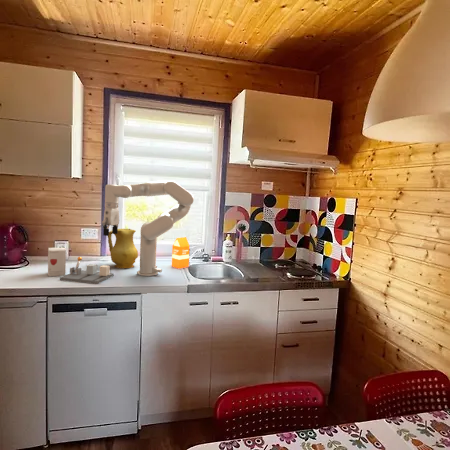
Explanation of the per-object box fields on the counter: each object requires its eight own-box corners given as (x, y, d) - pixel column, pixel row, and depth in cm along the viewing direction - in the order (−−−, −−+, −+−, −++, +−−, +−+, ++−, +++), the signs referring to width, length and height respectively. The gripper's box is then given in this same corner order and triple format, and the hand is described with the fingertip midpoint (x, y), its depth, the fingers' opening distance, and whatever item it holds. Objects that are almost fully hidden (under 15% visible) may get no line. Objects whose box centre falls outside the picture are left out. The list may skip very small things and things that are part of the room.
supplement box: (47, 276, 192) (48, 250, 190) (47, 272, 199) (47, 247, 198) (65, 275, 196) (66, 249, 194) (65, 271, 204) (65, 247, 202)
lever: (78, 273, 195) (83, 257, 199) (76, 272, 193) (81, 256, 197) (74, 272, 195) (79, 257, 199) (72, 271, 193) (77, 255, 197)
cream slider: (109, 274, 197) (109, 265, 196) (106, 276, 193) (106, 267, 192) (103, 273, 197) (103, 265, 197) (99, 275, 193) (99, 266, 193)
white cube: (96, 273, 198) (96, 264, 197) (92, 274, 194) (93, 266, 193) (90, 272, 198) (90, 264, 198) (86, 274, 195) (86, 265, 194)
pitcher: (121, 270, 213) (122, 230, 212) (103, 266, 224) (104, 228, 223) (143, 267, 227) (144, 229, 226) (125, 263, 238) (126, 227, 237)
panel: (113, 275, 201) (113, 267, 200) (97, 284, 183) (97, 274, 182) (79, 272, 204) (79, 264, 204) (60, 280, 186) (60, 271, 186)
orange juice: (171, 266, 233) (172, 237, 231) (181, 264, 239) (182, 236, 237) (179, 268, 228) (180, 238, 226) (188, 266, 234) (190, 237, 232)
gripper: (109, 206, 191) (108, 237, 193) (124, 205, 208) (123, 233, 210) (97, 205, 193) (96, 235, 194) (113, 204, 209) (112, 232, 211)
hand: (110, 234), depth 202 cm, fingers open, 9 cm apart
